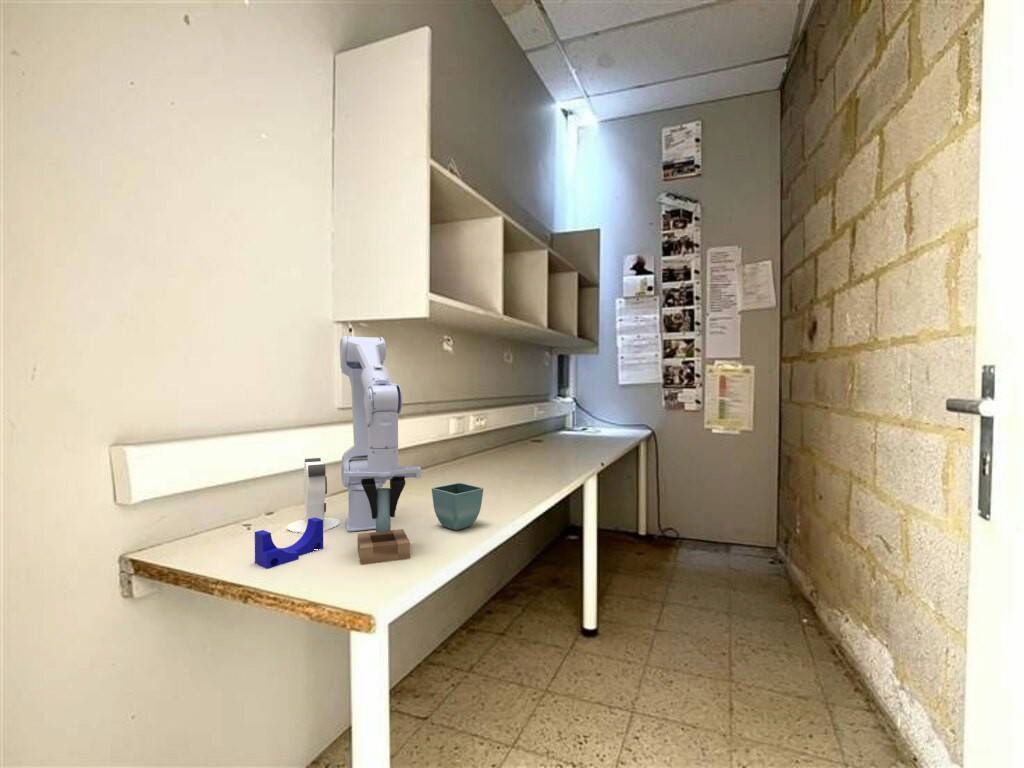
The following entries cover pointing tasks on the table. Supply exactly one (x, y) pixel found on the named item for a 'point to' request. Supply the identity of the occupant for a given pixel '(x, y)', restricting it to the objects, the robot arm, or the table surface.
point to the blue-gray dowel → (383, 510)
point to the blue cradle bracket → (274, 556)
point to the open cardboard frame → (383, 546)
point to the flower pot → (457, 504)
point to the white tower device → (314, 496)
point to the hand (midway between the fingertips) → (383, 516)
